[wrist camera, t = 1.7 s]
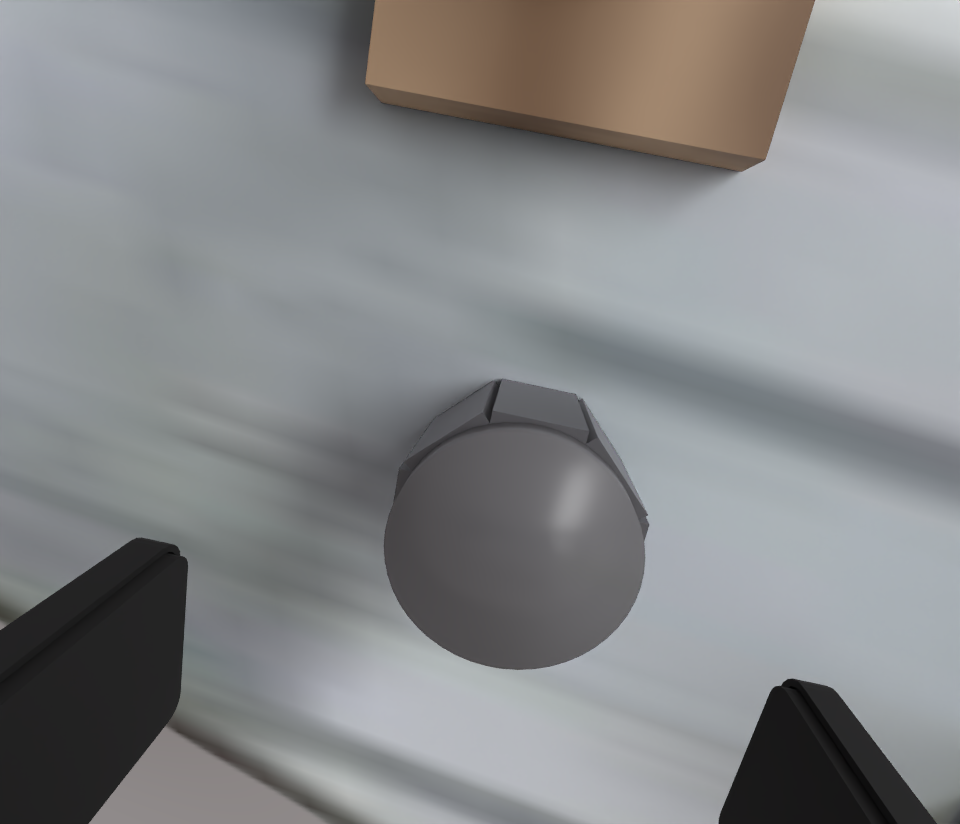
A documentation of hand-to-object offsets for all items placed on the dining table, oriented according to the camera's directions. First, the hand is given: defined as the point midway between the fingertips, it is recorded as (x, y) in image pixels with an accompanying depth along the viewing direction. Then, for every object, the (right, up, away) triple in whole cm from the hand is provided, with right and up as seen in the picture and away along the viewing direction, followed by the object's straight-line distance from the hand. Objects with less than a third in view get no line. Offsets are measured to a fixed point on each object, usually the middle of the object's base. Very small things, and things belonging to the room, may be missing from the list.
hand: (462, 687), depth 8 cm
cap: (+1, +2, +9) cm, 9 cm away
